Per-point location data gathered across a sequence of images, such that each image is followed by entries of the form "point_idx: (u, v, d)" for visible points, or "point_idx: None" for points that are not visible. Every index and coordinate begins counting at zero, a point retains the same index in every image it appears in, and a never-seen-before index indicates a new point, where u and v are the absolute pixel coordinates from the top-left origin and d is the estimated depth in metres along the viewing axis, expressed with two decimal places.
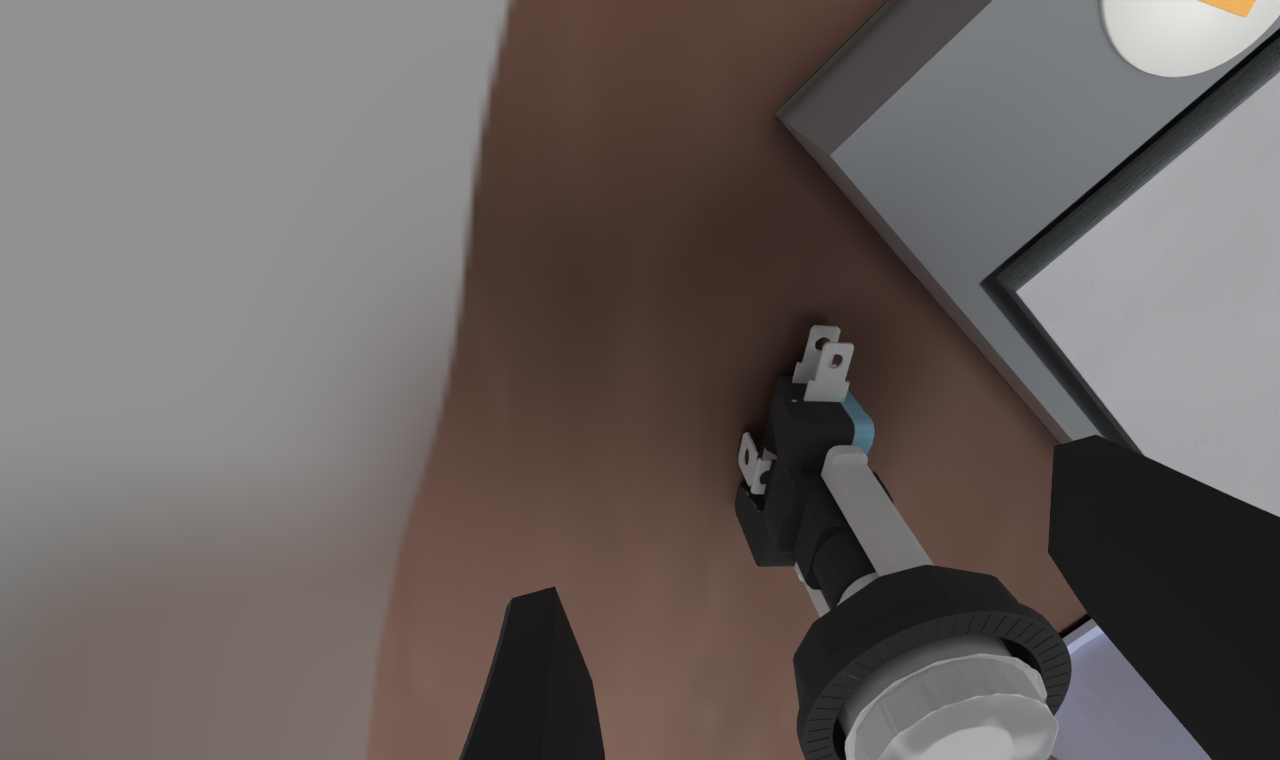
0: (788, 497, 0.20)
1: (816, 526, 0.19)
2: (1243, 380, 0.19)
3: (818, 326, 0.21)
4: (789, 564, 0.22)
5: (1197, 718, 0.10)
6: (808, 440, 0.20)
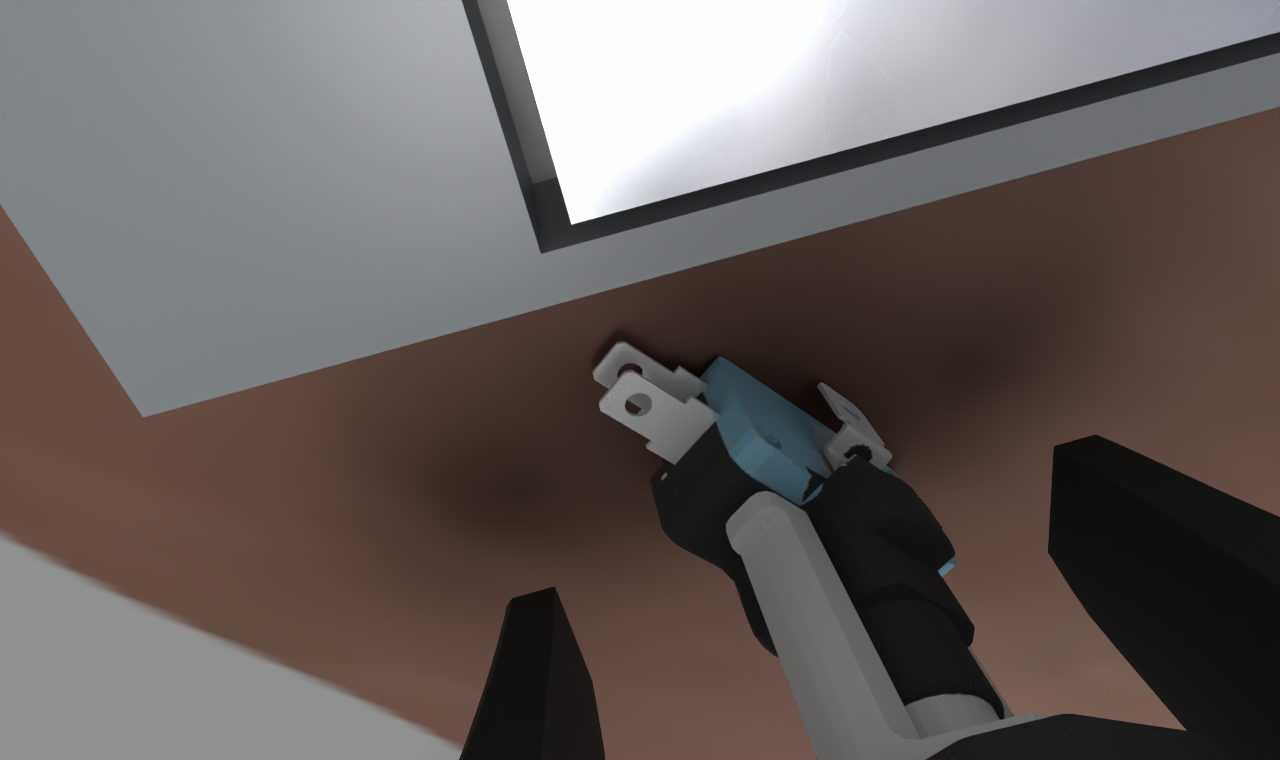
0: (749, 621, 0.12)
1: None
2: None
3: (596, 369, 0.13)
4: None
5: (1197, 718, 0.10)
6: (703, 531, 0.12)
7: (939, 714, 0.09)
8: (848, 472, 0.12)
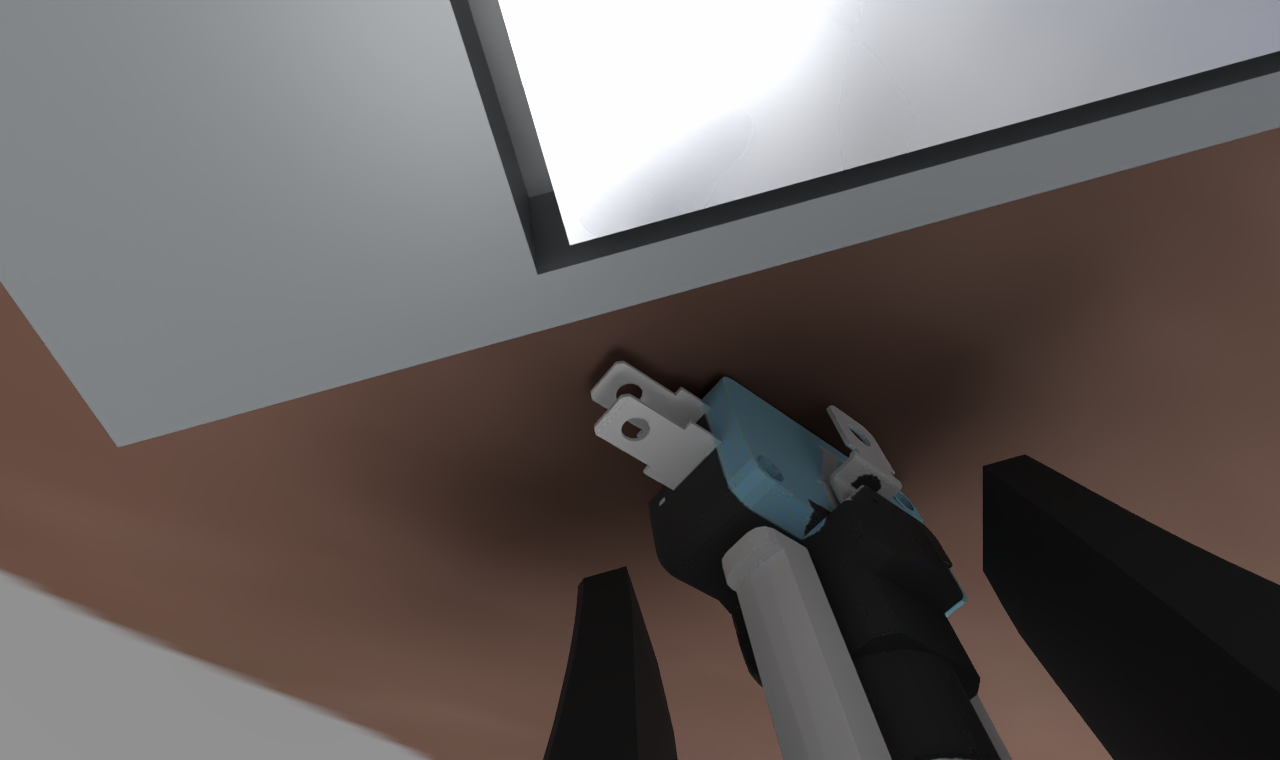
0: (745, 657, 0.11)
1: None
2: None
3: (594, 389, 0.12)
4: None
5: (1116, 741, 0.10)
6: (699, 563, 0.11)
7: None
8: (852, 508, 0.11)
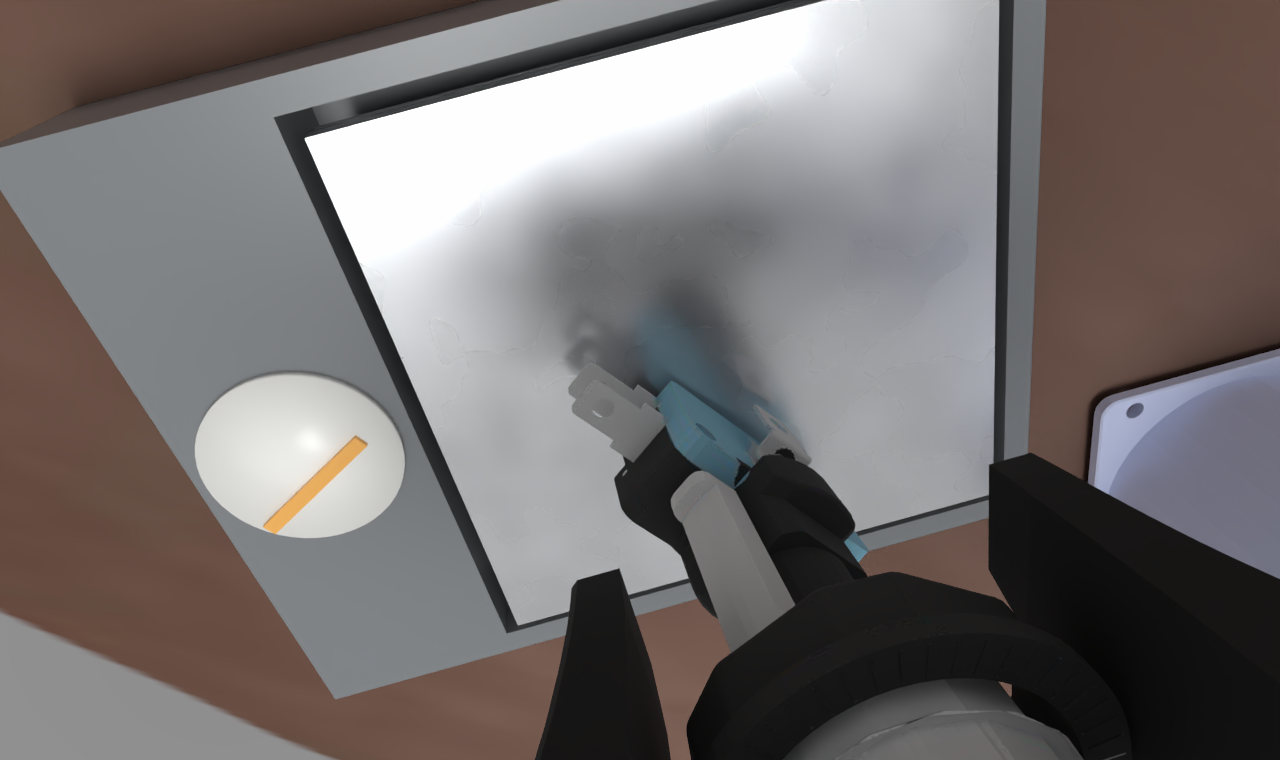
0: (692, 586, 0.14)
1: None
2: None
3: (570, 385, 0.16)
4: None
5: None
6: (654, 510, 0.15)
7: None
8: (768, 459, 0.14)
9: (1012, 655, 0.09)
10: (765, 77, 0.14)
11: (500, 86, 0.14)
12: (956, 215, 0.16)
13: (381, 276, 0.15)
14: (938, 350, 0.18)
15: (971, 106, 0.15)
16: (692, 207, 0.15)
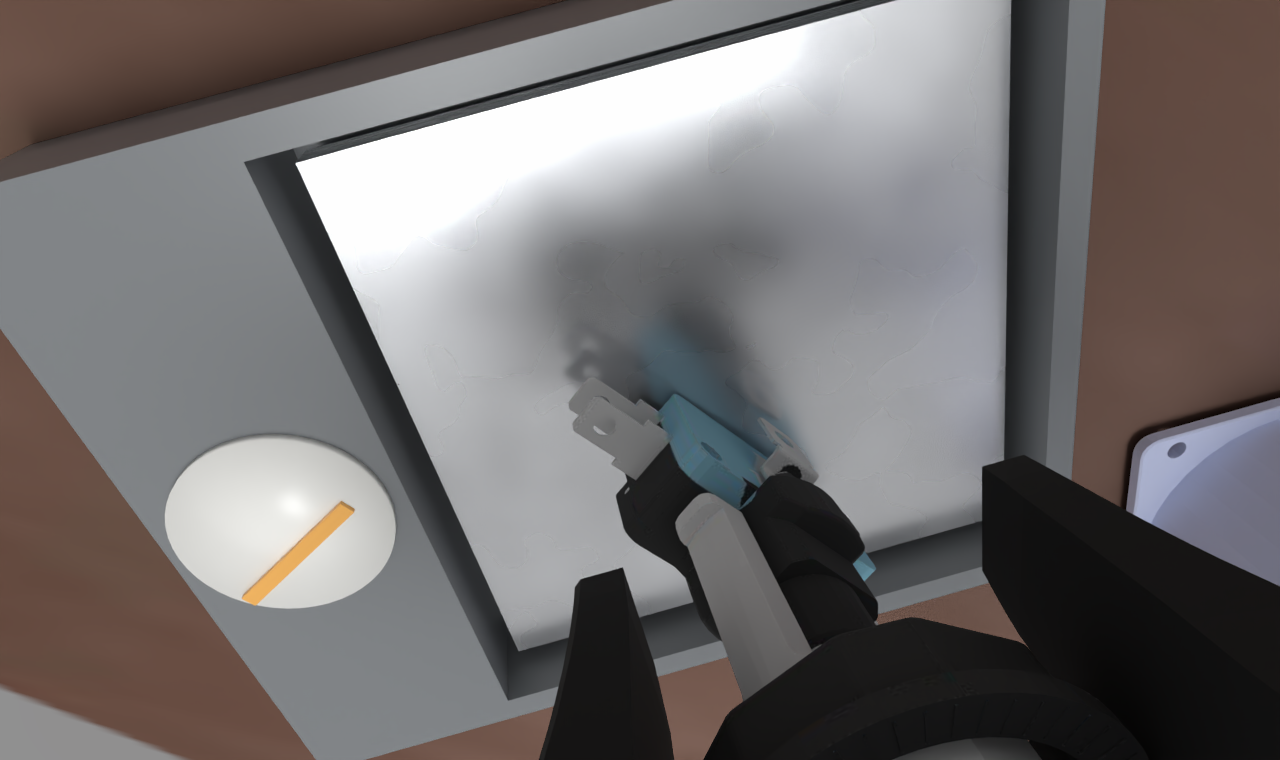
0: (696, 608, 0.14)
1: None
2: None
3: (571, 400, 0.15)
4: None
5: None
6: (658, 532, 0.14)
7: None
8: (776, 479, 0.14)
9: (1040, 713, 0.08)
10: (770, 97, 0.14)
11: (497, 108, 0.13)
12: (966, 235, 0.16)
13: (376, 302, 0.14)
14: (948, 371, 0.17)
15: (981, 124, 0.14)
16: (696, 229, 0.15)
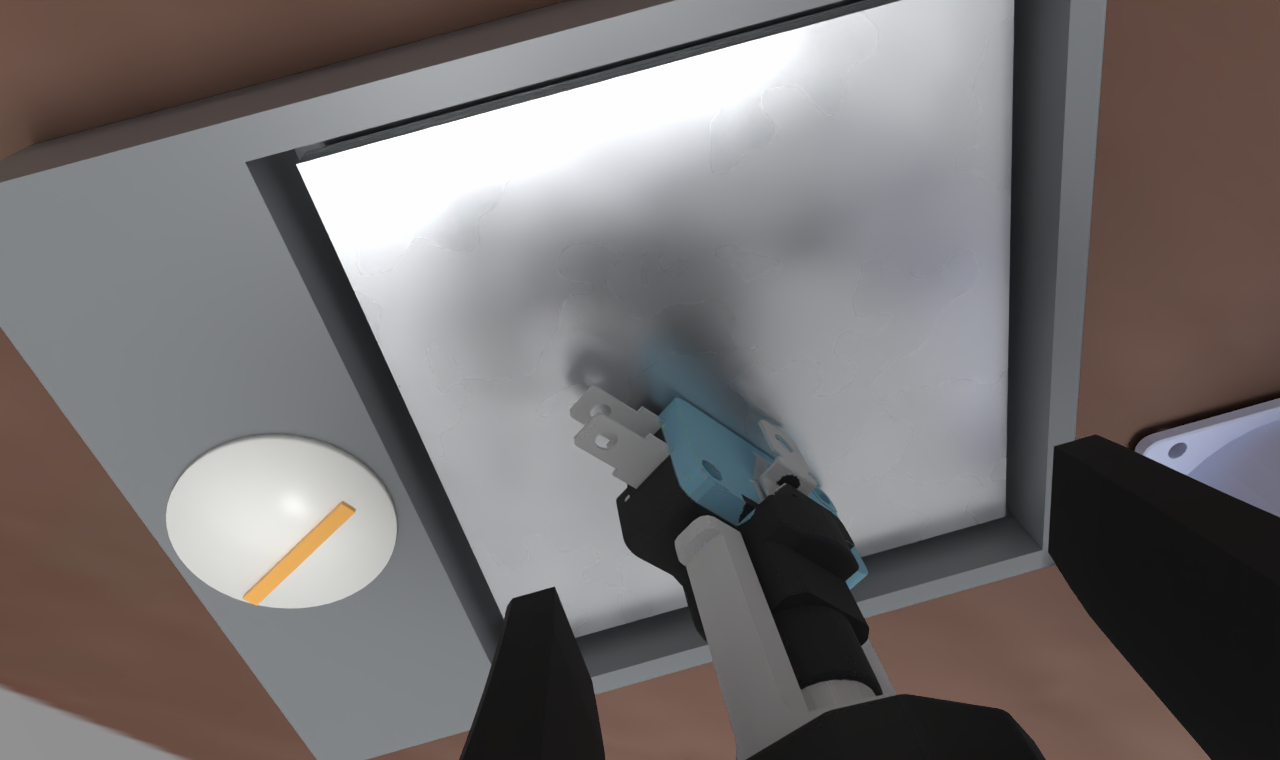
0: (693, 619, 0.15)
1: None
2: None
3: (572, 408, 0.15)
4: None
5: (1197, 718, 0.10)
6: (657, 545, 0.15)
7: (828, 695, 0.12)
8: (775, 500, 0.14)
9: None
10: (772, 97, 0.14)
11: (498, 109, 0.13)
12: (969, 236, 0.15)
13: (376, 303, 0.14)
14: (950, 373, 0.17)
15: (984, 126, 0.14)
16: (697, 230, 0.15)
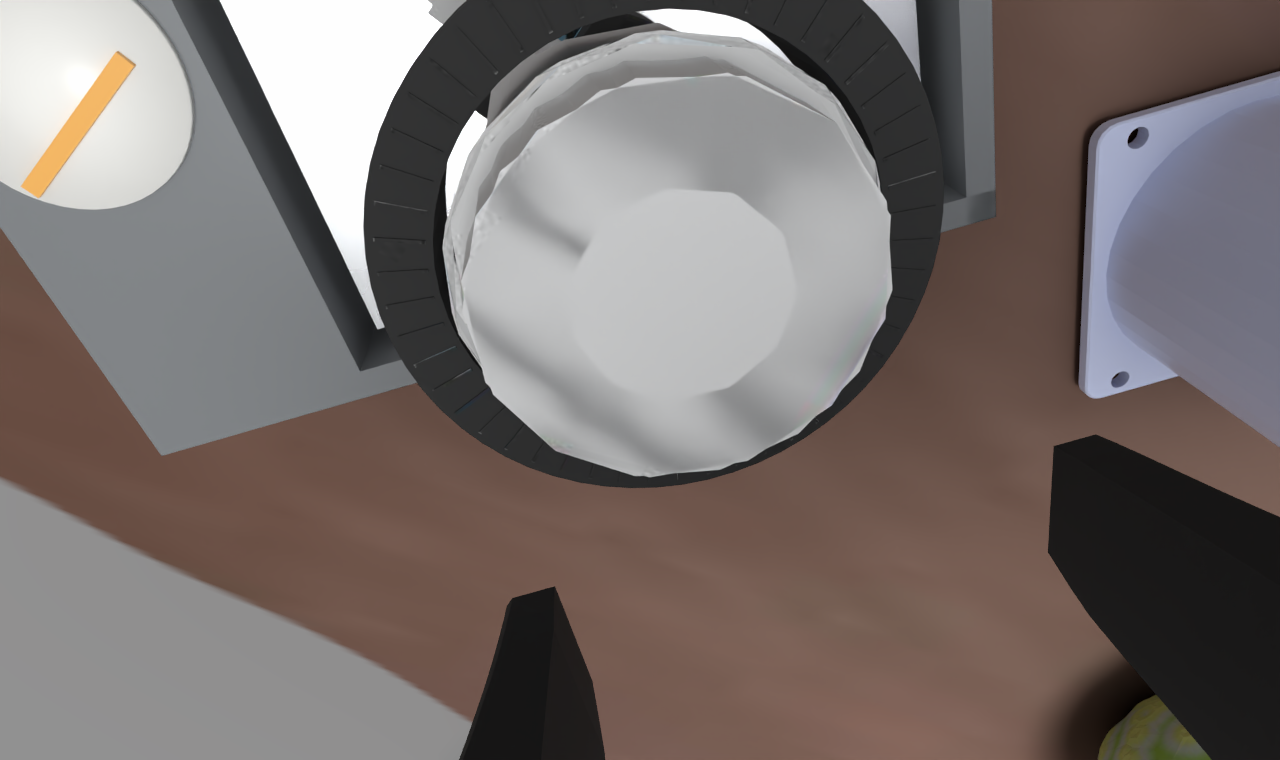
0: None
1: None
2: None
3: None
4: None
5: (1197, 718, 0.10)
6: None
7: None
8: None
9: None
10: None
11: None
12: None
13: None
14: None
15: None
16: None
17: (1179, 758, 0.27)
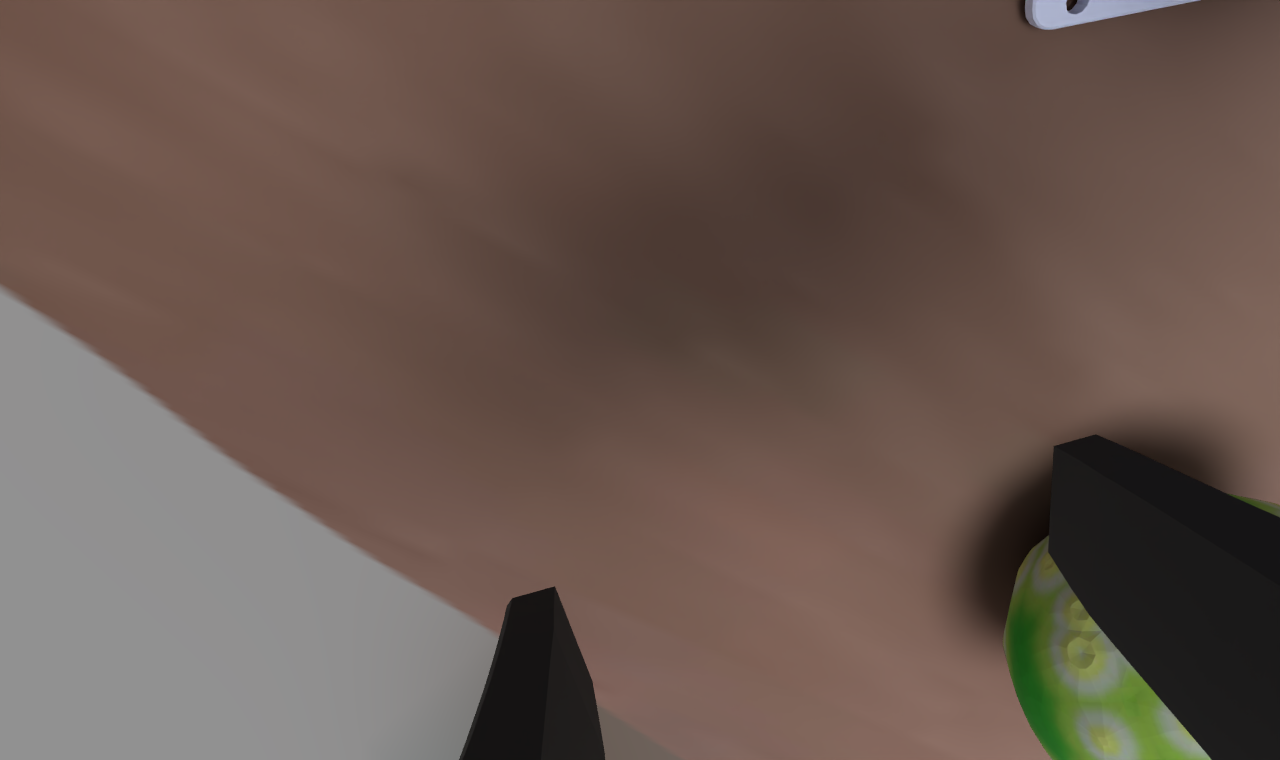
0: None
1: None
2: None
3: None
4: None
5: (1197, 718, 0.10)
6: None
7: None
8: None
9: None
10: None
11: None
12: None
13: None
14: None
15: None
16: None
17: None
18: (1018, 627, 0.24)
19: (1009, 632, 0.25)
